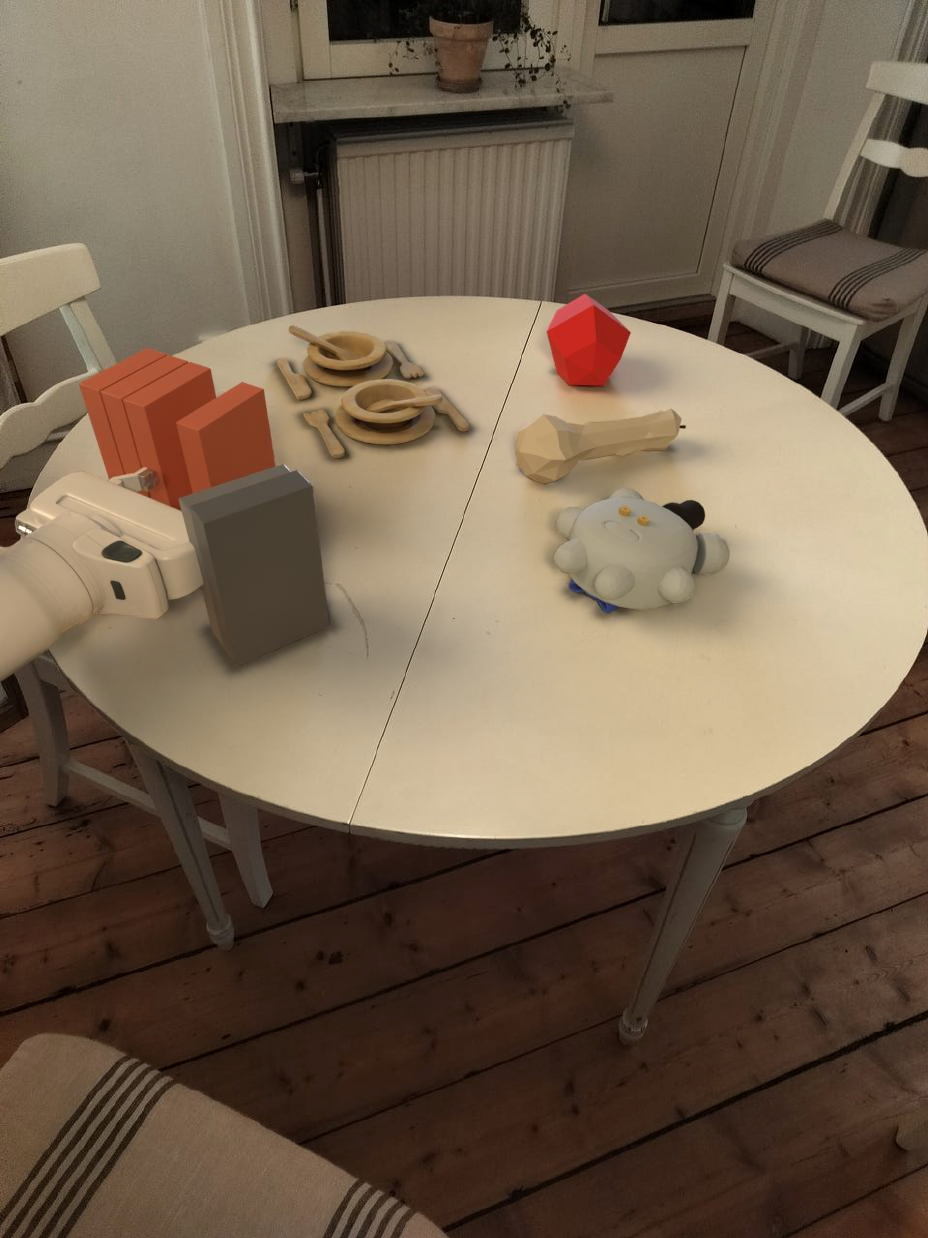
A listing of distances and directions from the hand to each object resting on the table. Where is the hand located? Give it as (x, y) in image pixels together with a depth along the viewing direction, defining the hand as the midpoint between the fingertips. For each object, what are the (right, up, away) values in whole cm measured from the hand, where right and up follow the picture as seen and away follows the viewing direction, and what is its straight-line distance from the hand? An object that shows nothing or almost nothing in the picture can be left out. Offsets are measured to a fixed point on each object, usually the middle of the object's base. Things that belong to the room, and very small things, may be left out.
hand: (188, 488), depth 85 cm
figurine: (+47, -8, +7) cm, 48 cm away
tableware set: (+14, +18, +34) cm, 41 cm away
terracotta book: (+3, -2, +11) cm, 12 cm away
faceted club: (+46, +6, +22) cm, 51 cm away
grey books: (+9, -14, -2) cm, 17 cm away
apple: (+46, +23, +40) cm, 65 cm away
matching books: (-7, +2, +15) cm, 17 cm away
